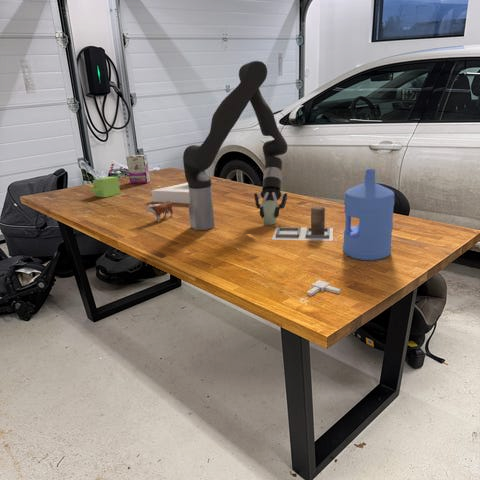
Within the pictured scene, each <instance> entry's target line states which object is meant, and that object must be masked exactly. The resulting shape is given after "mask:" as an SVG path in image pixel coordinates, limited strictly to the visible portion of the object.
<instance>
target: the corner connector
mask: <svg viewBox="0 0 480 480" xmlns="http://www.w3.org/2000/svg"><path fill="white" fill-rule="evenodd" d="M320 291H321V292H324V291H326V292H330V293H333V294H340V293H341V289H340V288H338V287H334V286H331V283H330V282H328V281H323V280H320V279H318V280H316V281H315V282H313V283H312V284H311V289H309V290H307V293H306V294H307V296H313V295H315V294H316V293H318V292H320Z"/></svg>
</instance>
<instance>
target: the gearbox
mask: <svg viewBox="0 0 480 480" xmlns="http://www.w3.org/2000/svg"><path fill="white" fill-rule="evenodd" d="M92 184H93V186H92V187H89V191H90V192H94V195H95V197H98V198H107V197H112V196H116V195H119V194H121V189H120V188H121V187H120V181H119V177H118V176H105V177H99V178H95V179H93V180H92Z"/></svg>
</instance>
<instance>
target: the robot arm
mask: <svg viewBox="0 0 480 480" xmlns="http://www.w3.org/2000/svg"><path fill="white" fill-rule="evenodd" d="M267 76H268V68H267V65H266V64H265V63H264V62H263V61H262V60H252V61H250V62H247V63H244V64H242V65H241V67H240V68H239V70H238V77H239V78H238V79H239V81H240V82H239V84H238V85H237V86H236V87H235V88H234V89H233V90H231V91H230V93H229V94H227V96H225V97H224V99H223V100H222V101H221V102H220V103H219V105H218V107H217V108H216V109H215V112H214V113H213V114H212V118H211V124H210V129H209V133H208V135H207V137H206V138H205V140H204V141H203V142H202V144H201V145H196V144H194V145H189V146H187V147H186V148H185V149H184V152H183V156H182V162H183V169H184V175H185V176H184V177H185V180H186V183H188V187H189V198H190V204H188V213H189V214H188V215H189V225H190V227H191V228H192V229H193V230H194V231H207V230H211V229H213V228H214V227H215V214H214V203H213V202H214V201H213V189H212V187H213V186H212V180H211V177H210V176H209V175H208V174H207V173H206V170H208V169H209V168H210V167H211V166H212V165H213V163H214V161H215V159H216V157H217V155H218V153H219V152H220V149H221V147H222V146H223V144H224V142H225V141H226V138H228V135H229V134H230V132H231V131H232V129H233V128H234V127H235V125H236V124H237V122H238V120H239V119H240V117H241V115H242V114H243V113H244V111H245V109H246V107H247V106H248V104H249V103H250V104H251V106H252V109H253V111H254V113H255V116H256V120H257V123H258V125H259V128H260V132H261V134H262V136H264V137H272V138H273V139H271V140H268V141H265V142H264V144H263V146H262V151H263V157H264V162H265V164H264V172H263V179H262V189H261V192H260V193H257V192H256V193H254V194H253V197H254V200H255V201H254V202H255V206H256V209H259V217H261V219H264V217H263V201H265V200H274V201H275V204H276V208H275V218H276V219H277V218H278V217H279V216H280V210H281V209H284V208H285V206H286V203H287V200H288V193H286V192H285V193H282V192H281V190H282V187H281V186H282V168H283V167H282V166H283V161H282V159H281V158H280V157H279V156H281V155H285V154H286V153H287V152H288V143H287V141H286V139H285V138H284V136H283V134H282V133H281V131H280V130H279V128H278V125H277V122H276V121H277V120H276V117H275V115H274V113H273V110H272V109H271V107H270V106H269V105H268V103H267V102H266V99H265V98H264V97H263V95H262V92H261V90H260V87H261V86H262V85H263V84H264V83H265V81H266V79H267ZM260 198H262V200H261V203H260V202H259V201H260ZM280 198H281V199H282V200H281V203H279V202H278V201H279V199H280Z"/></svg>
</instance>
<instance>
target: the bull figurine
mask: <svg viewBox="0 0 480 480" xmlns="http://www.w3.org/2000/svg"><path fill="white" fill-rule="evenodd" d="M172 208H173V203H171V202H170V201H167V202H161V203H157V204H156V203H155V204H151V203H149V204H148V205H147V208H146V209H145V211H146V212H147V213H148V212H149V213H152V215H154V216H155V217H156V221H157V223H160V222H161V219H160V218H161V216H162V215H163V218H166V217H167V214H169V212H170V218H173V216H174V215H173V212H174V211H173V209H172Z"/></svg>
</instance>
